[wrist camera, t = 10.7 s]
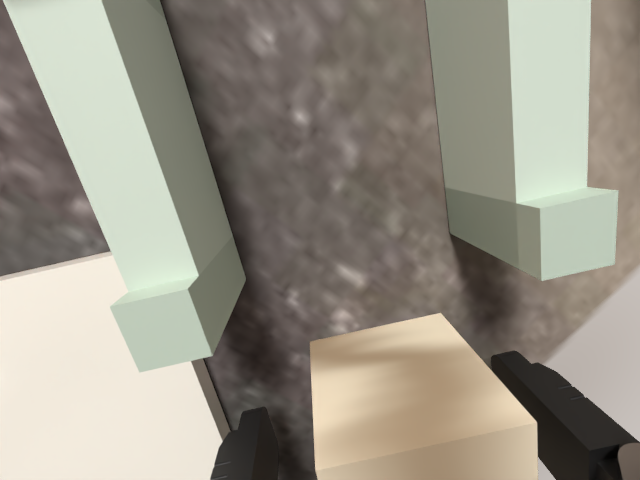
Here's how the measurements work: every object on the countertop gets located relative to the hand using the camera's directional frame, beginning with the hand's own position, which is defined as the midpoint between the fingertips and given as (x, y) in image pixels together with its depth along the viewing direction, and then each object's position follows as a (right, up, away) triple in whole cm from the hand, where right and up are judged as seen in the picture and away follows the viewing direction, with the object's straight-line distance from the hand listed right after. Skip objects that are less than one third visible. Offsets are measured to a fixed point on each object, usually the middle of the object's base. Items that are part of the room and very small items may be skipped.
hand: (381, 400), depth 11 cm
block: (+1, -1, +2) cm, 2 cm away
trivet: (-11, 0, +1) cm, 11 cm away
